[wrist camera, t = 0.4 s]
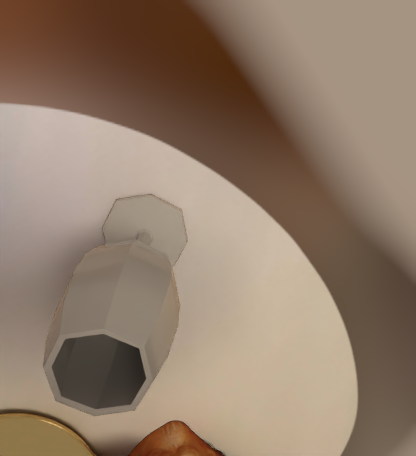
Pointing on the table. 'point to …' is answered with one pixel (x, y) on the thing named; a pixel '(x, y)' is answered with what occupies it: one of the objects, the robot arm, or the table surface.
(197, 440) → the ceramic vessel
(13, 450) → the serving platter
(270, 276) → the table surface
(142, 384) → the wineglass
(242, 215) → the table surface
